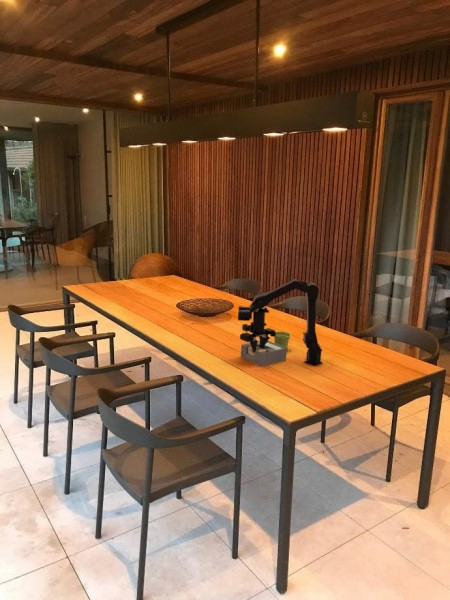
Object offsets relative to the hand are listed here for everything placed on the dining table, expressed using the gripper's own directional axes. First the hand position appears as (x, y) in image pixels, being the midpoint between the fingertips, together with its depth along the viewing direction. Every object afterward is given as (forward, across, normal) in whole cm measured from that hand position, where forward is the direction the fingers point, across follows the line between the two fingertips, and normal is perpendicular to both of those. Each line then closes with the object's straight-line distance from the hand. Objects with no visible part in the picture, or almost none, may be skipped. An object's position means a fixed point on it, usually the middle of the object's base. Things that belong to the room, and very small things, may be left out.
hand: (257, 351), depth 235 cm
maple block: (+2, 0, 0) cm, 2 cm away
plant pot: (+5, -22, -6) cm, 23 cm away
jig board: (+5, -5, -1) cm, 7 cm away
